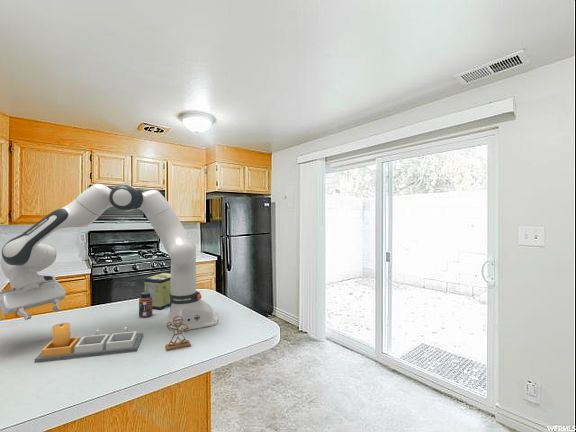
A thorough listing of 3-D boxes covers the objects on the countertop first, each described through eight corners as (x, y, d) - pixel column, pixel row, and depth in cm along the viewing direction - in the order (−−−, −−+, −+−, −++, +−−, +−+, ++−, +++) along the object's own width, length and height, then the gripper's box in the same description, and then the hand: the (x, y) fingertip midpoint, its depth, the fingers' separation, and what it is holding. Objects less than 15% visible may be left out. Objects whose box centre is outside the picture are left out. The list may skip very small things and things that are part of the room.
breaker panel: (143, 335, 129) (142, 324, 129) (136, 351, 116) (136, 338, 115) (52, 344, 120) (52, 332, 120) (34, 362, 107) (34, 349, 107)
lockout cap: (72, 345, 117) (72, 321, 116) (66, 352, 112) (66, 327, 111) (56, 347, 115) (56, 323, 115) (50, 354, 110) (49, 328, 110)
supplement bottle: (147, 318, 148) (147, 295, 147) (136, 317, 149) (135, 294, 149) (155, 314, 154) (154, 291, 153) (144, 313, 155) (144, 290, 154)
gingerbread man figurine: (188, 342, 124) (188, 312, 123) (190, 346, 120) (190, 315, 120) (165, 347, 119) (164, 316, 119) (166, 351, 116) (166, 319, 115)
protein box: (179, 301, 174) (179, 273, 174) (160, 310, 159) (160, 280, 159) (164, 299, 177) (164, 272, 177) (144, 308, 163) (143, 278, 162)
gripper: (-4, 287, 110) (12, 318, 107) (58, 275, 129) (74, 301, 125) (-10, 297, 112) (6, 329, 109) (52, 284, 131) (67, 311, 127)
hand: (43, 314), depth 117 cm, fingers open, 8 cm apart
